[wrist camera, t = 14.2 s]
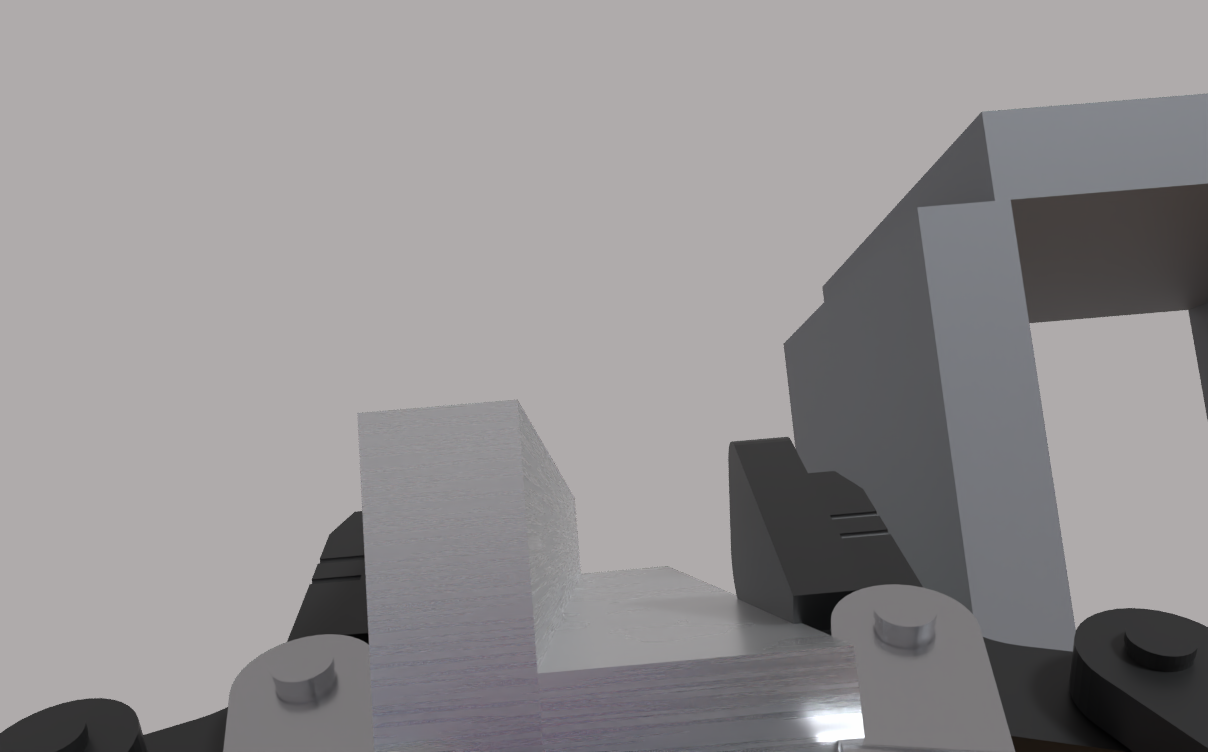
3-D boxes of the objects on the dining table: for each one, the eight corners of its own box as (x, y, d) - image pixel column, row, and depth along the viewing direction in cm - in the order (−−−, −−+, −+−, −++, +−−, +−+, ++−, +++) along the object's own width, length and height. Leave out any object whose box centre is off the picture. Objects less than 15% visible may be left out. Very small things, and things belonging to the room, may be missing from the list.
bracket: (673, 624, 27) (660, 490, 28) (879, 862, 7) (821, 374, 8) (540, 636, 27) (530, 501, 27) (382, 911, 7) (358, 413, 8)
